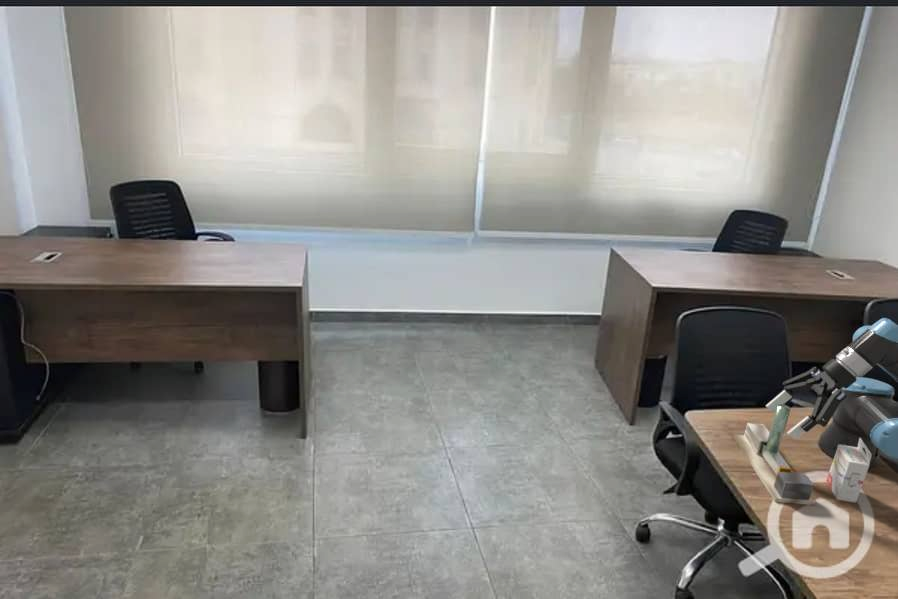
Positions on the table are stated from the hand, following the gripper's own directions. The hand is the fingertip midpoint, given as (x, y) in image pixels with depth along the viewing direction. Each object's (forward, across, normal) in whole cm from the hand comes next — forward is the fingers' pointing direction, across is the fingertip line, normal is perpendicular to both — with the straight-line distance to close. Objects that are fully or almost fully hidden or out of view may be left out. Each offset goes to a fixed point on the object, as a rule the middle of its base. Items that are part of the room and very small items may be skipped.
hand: (779, 422), depth 169 cm
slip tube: (+10, -4, +9) cm, 14 cm away
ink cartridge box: (+3, +6, +23) cm, 24 cm away
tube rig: (+11, -1, +10) cm, 15 cm away
